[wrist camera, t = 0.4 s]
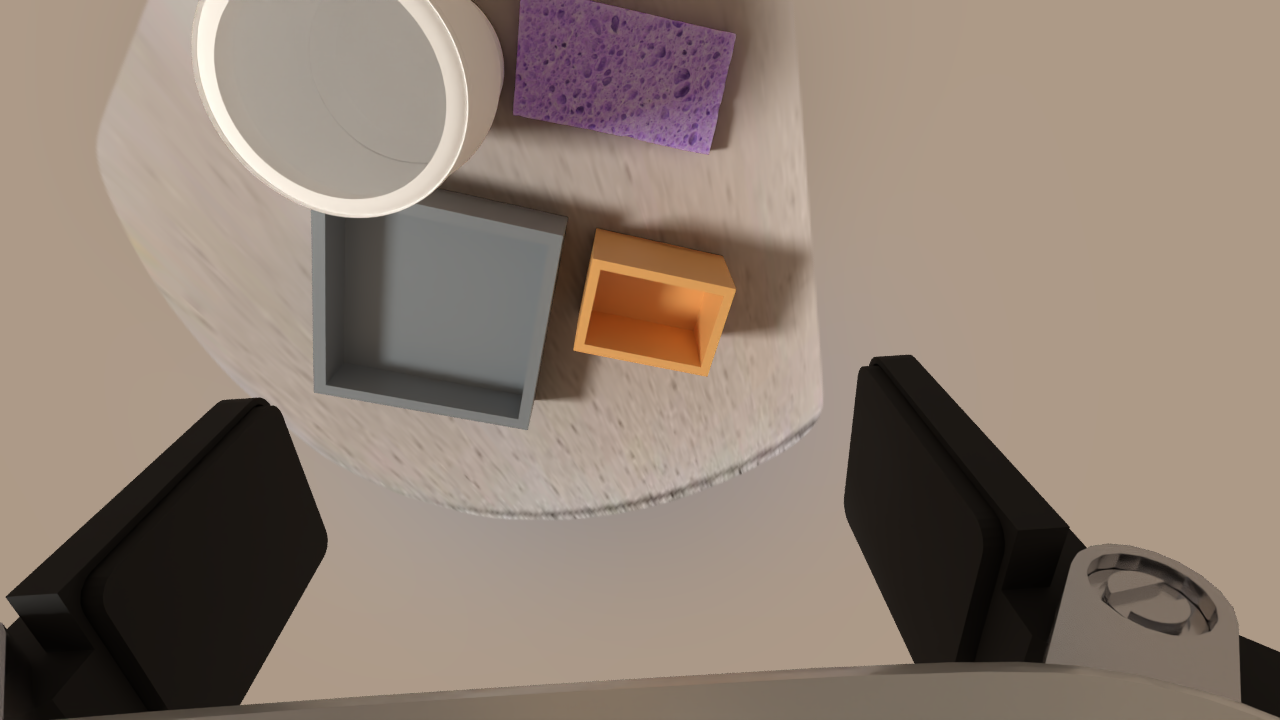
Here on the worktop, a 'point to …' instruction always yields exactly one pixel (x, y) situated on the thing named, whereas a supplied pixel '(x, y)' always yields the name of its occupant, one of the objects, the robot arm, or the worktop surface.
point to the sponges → (621, 72)
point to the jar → (348, 95)
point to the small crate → (653, 303)
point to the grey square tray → (436, 306)
